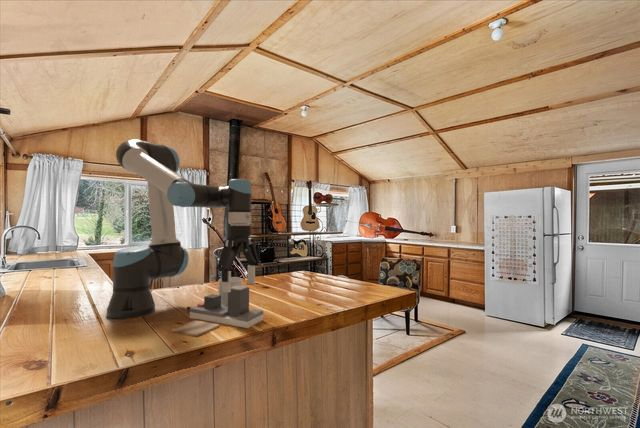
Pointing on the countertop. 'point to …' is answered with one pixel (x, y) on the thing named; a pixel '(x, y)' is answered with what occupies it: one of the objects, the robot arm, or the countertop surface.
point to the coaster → (195, 328)
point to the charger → (238, 301)
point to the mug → (224, 295)
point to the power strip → (223, 313)
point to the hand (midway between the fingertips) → (239, 287)
